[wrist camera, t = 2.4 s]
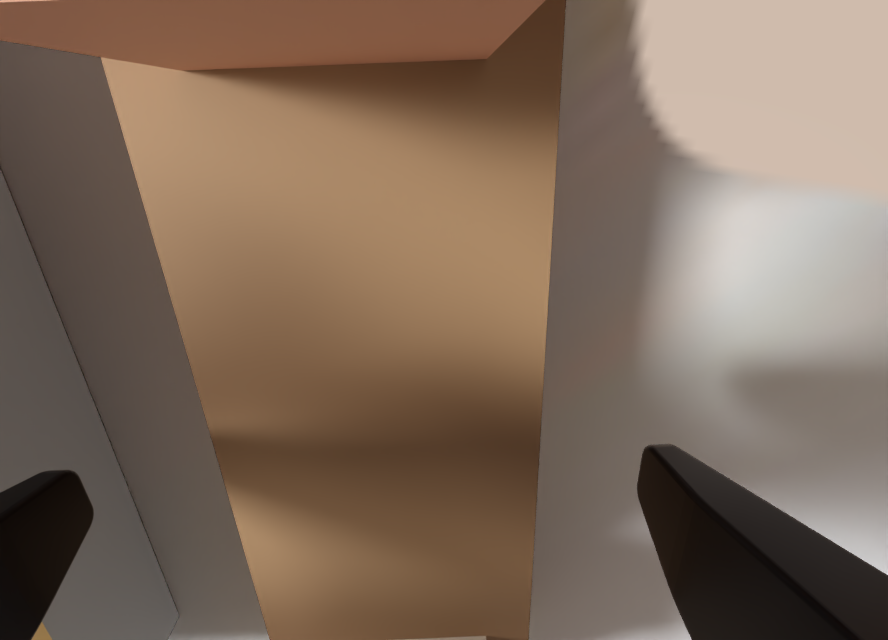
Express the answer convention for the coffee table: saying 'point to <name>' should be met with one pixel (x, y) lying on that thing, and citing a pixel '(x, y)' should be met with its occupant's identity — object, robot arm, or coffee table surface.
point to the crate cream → (455, 638)
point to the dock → (70, 459)
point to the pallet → (365, 320)
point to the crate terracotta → (265, 30)
